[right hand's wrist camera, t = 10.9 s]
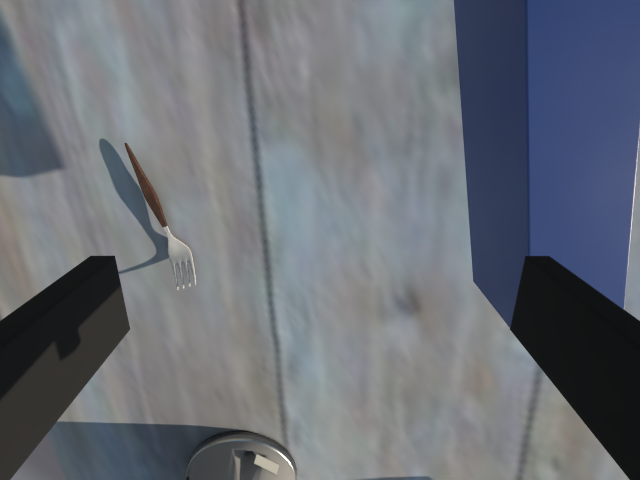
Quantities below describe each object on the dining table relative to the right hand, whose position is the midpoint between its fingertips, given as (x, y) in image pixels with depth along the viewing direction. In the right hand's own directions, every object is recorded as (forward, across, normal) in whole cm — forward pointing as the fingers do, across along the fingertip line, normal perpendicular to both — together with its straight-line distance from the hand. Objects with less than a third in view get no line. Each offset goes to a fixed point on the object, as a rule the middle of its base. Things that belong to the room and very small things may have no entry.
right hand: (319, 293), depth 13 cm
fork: (+28, +17, +6) cm, 34 cm away
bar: (+16, -12, -5) cm, 21 cm away
